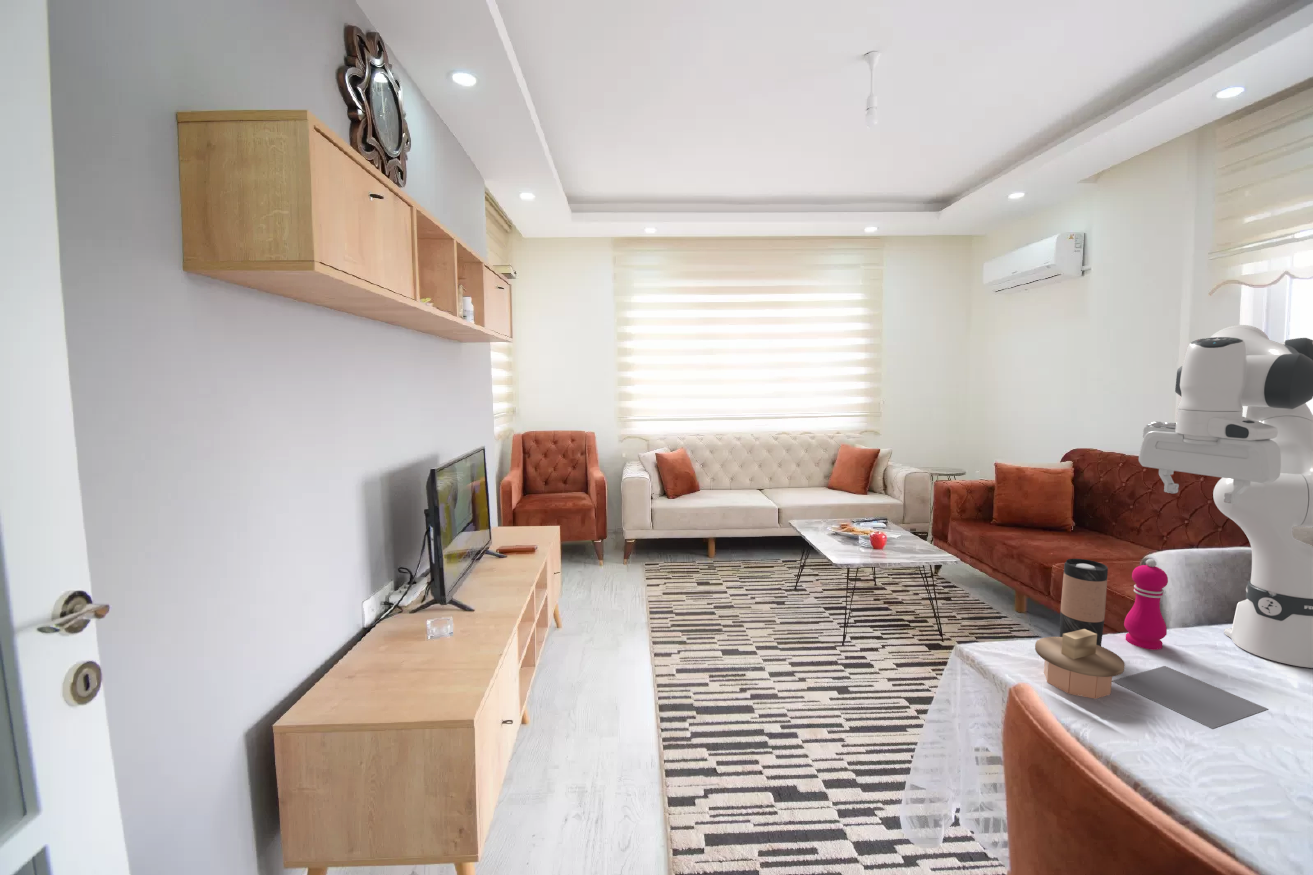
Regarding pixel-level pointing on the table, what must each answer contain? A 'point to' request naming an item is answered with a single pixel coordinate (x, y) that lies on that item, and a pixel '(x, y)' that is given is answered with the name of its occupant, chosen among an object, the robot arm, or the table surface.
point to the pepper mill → (1147, 607)
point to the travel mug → (1083, 597)
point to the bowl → (1077, 682)
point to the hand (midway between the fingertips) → (1199, 497)
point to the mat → (1190, 696)
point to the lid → (1080, 654)
